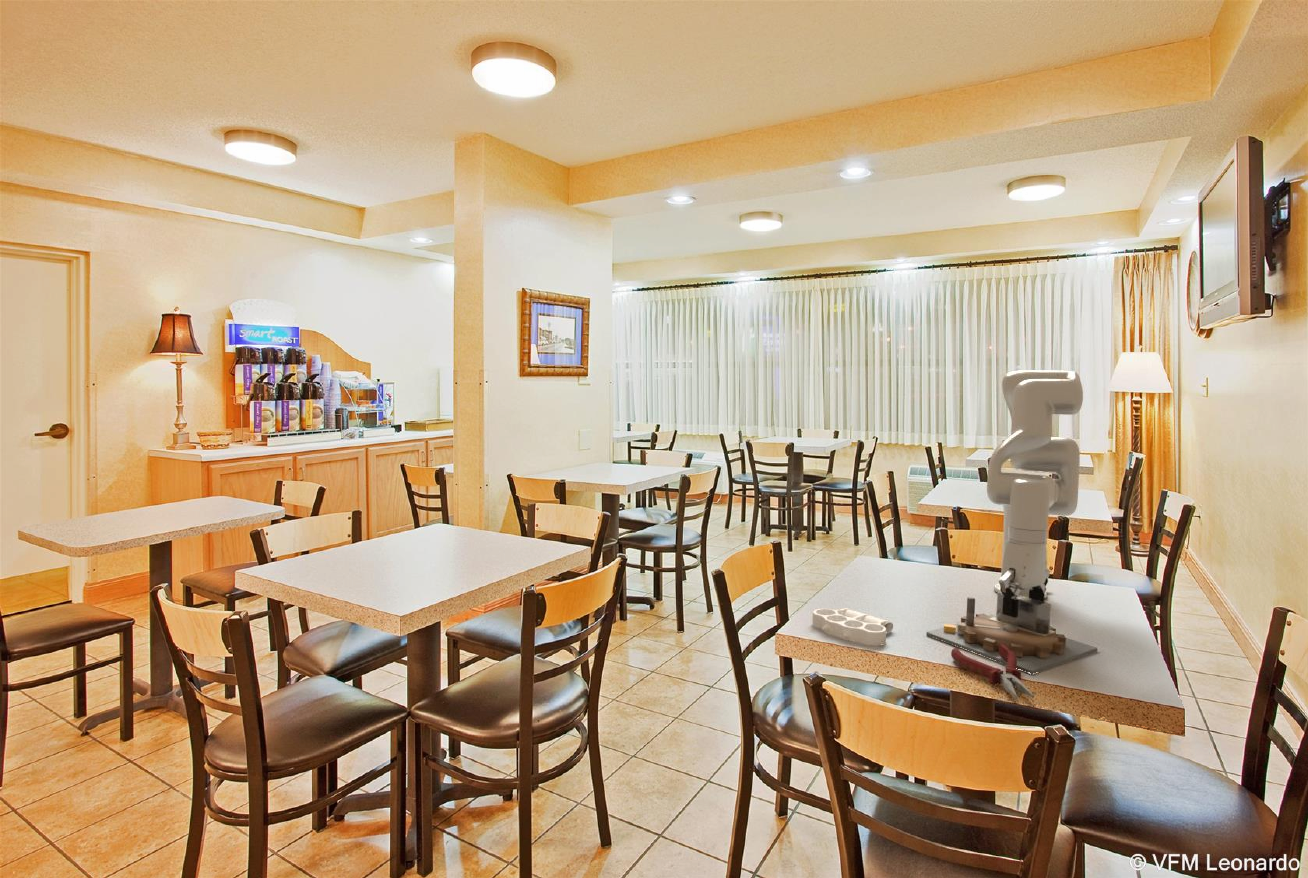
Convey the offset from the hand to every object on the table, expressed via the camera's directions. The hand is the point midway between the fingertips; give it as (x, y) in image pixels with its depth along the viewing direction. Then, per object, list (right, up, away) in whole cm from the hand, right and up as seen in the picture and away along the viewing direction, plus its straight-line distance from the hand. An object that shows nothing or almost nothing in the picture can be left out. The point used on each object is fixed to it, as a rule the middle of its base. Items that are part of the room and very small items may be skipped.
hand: (1023, 612), depth 152 cm
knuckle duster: (-36, -6, +5) cm, 37 cm away
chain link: (0, -3, 0) cm, 3 cm away
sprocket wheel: (-4, -6, -2) cm, 8 cm away
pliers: (-17, -8, -19) cm, 27 cm away
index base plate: (-4, -6, -2) cm, 8 cm away
